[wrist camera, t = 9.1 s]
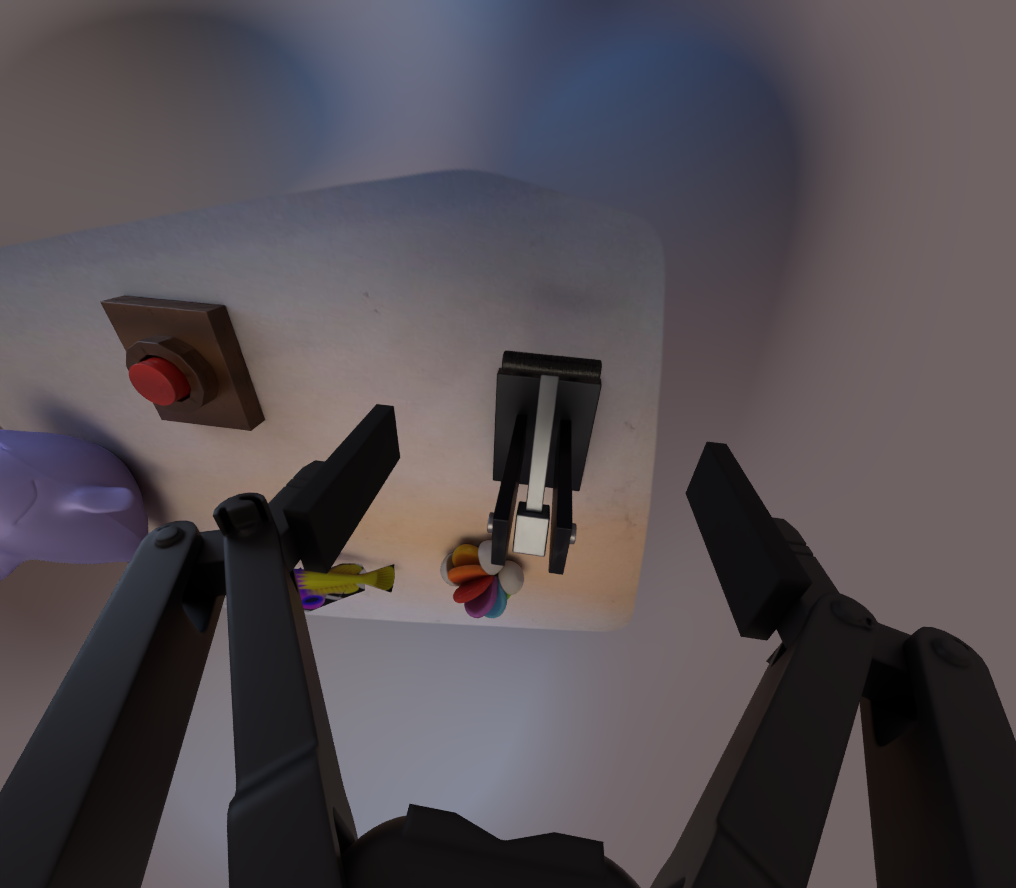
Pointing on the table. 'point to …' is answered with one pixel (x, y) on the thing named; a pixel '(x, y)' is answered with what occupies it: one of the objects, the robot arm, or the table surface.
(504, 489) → the bracket
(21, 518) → the toy whale
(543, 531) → the t-handle lever
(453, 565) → the fanned rainbow disc cluster
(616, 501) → the table surface
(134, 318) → the button block
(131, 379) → the button
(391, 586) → the toy
